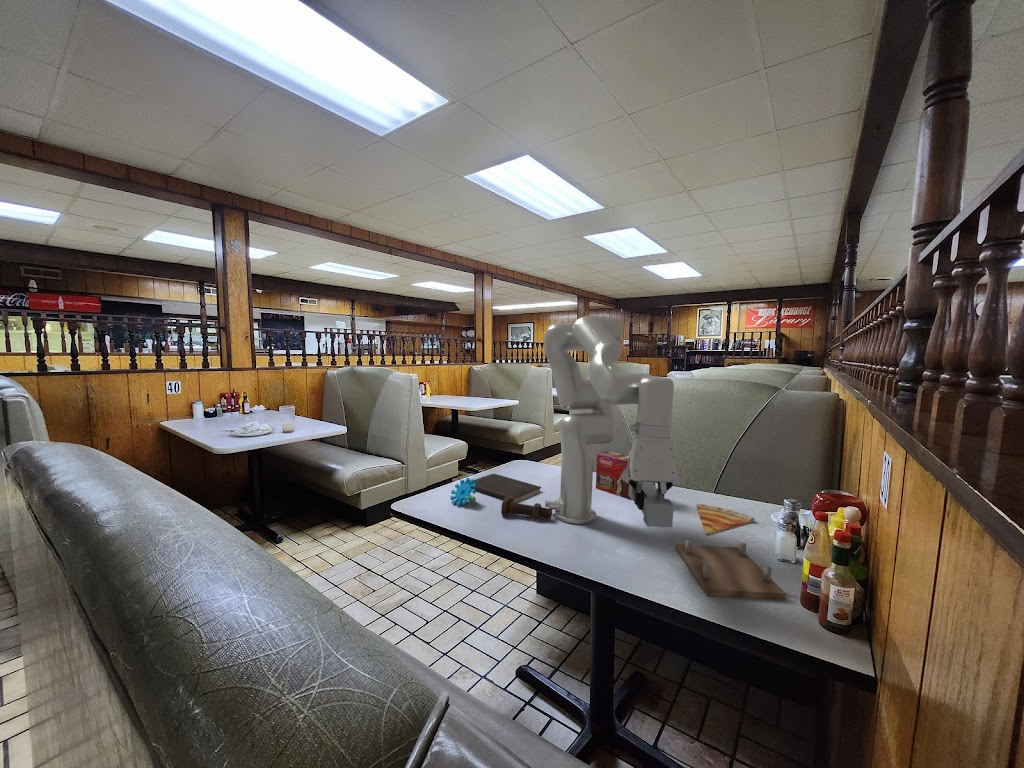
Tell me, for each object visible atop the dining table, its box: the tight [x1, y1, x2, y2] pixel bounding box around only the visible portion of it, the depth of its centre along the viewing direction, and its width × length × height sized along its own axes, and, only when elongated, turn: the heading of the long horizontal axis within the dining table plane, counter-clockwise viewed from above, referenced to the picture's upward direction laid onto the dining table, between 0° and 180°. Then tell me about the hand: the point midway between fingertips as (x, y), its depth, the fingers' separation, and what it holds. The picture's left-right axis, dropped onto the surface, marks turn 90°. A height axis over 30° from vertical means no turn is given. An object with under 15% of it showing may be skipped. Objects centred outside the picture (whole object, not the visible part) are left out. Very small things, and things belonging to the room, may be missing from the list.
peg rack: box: [675, 539, 787, 601], centre depth 97 cm, size 16×20×4 cm
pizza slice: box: [695, 502, 755, 536], centre depth 128 cm, size 16×22×2 cm
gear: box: [449, 477, 479, 507], centre depth 137 cm, size 11×6×10 cm
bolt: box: [500, 497, 553, 521], centre depth 126 cm, size 6×5×15 cm
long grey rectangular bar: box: [629, 476, 675, 528], centre depth 97 cm, size 5×18×5 cm, turn 177°
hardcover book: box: [469, 473, 542, 503], centre depth 150 cm, size 16×23×2 cm
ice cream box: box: [595, 450, 657, 502], centre depth 147 cm, size 20×6×13 cm, turn 42°
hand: (648, 507), depth 97 cm, fingers closed on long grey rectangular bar, 3 cm apart
